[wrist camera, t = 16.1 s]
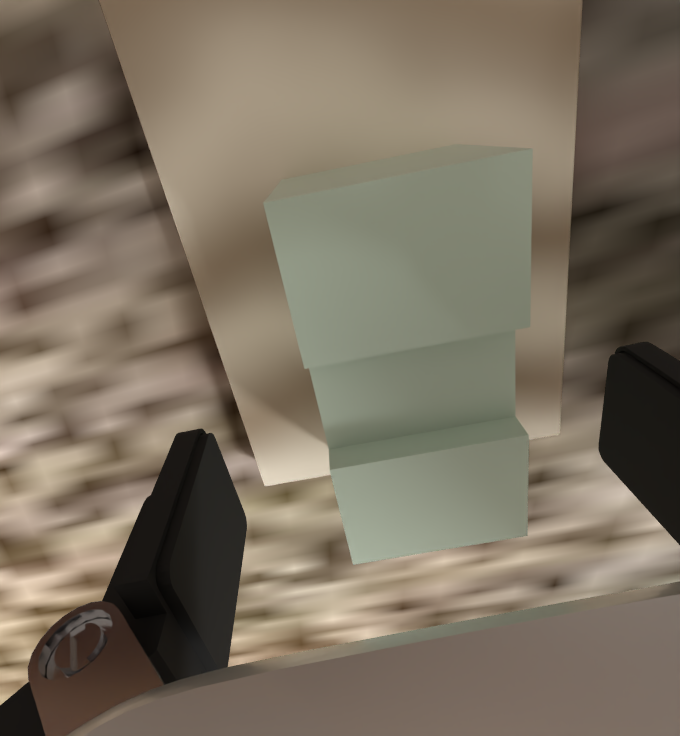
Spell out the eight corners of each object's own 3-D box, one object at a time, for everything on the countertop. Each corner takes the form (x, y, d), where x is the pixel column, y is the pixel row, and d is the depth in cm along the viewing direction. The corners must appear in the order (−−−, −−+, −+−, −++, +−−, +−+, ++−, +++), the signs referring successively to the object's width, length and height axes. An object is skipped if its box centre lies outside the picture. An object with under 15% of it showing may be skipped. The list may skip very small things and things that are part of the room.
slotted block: (472, 432, 21) (527, 535, 15) (343, 455, 21) (353, 564, 16) (456, 143, 15) (532, 148, 10) (281, 179, 15) (262, 203, 10)
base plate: (544, 416, 22) (559, 434, 21) (267, 465, 23) (264, 486, 21) (564, -150, 13) (592, -182, 12) (100, -44, 14) (77, -63, 12)
